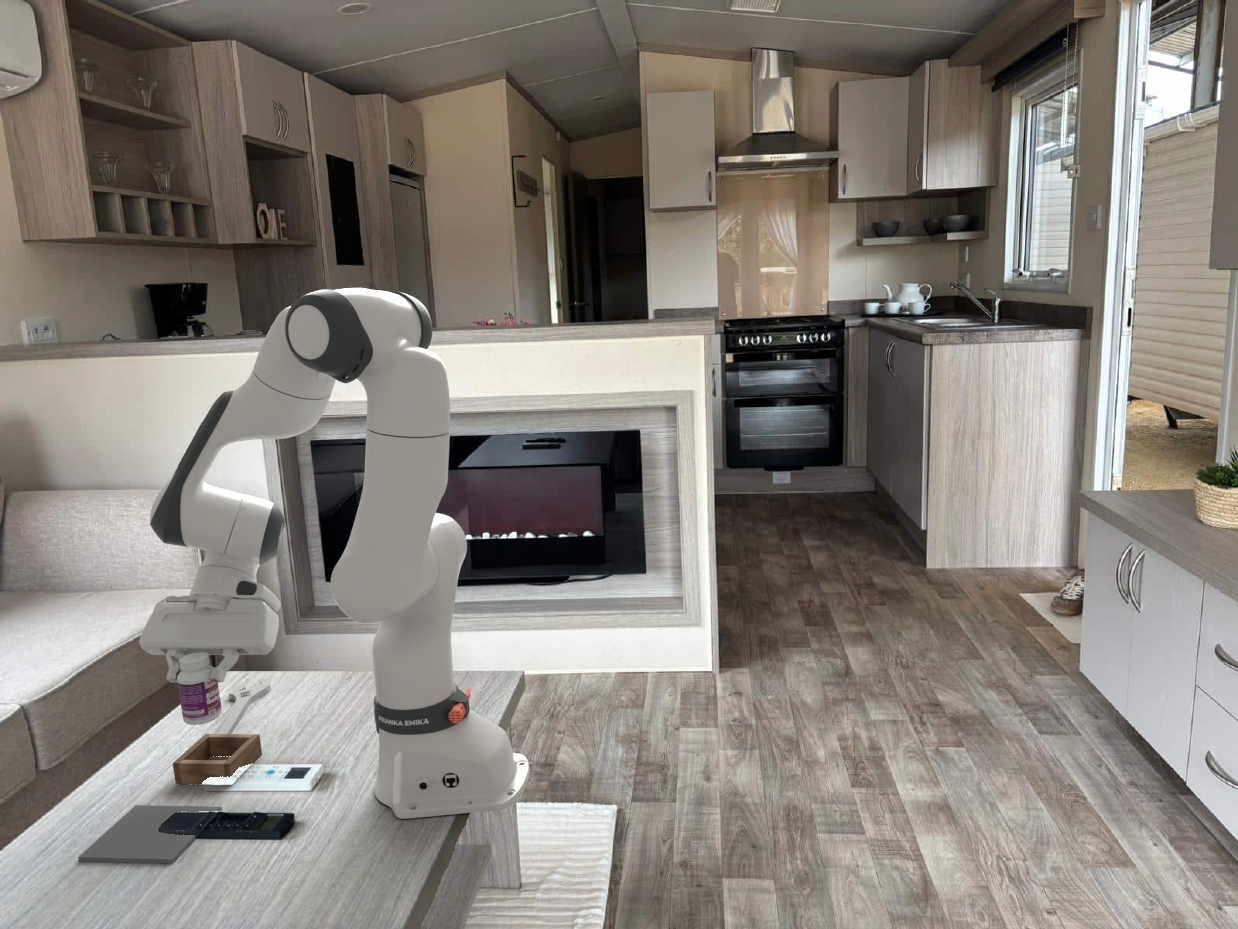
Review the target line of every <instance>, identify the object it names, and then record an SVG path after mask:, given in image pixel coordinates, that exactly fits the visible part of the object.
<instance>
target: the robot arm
mask: <svg viewBox="0 0 1238 929" xmlns="http://www.w3.org/2000/svg"><path fill="white" fill-rule="evenodd" d="M432 338H433V321H432V319H431V315H430V313H429V311H428V309H427V307H426V306H425V305H424V304H423V303H422V302H421V301H420V300H419V299H417V298H415V297H414V296H412V295H409V294H407V293H404V292H402V291H397V290H388V291H385V290H378V289H377V290H376V289H370V288H366V287H364V288H363V287H350V288H349V287H348V288H340V289H338V288H337V289H318V290H315V291H311V292H309V293H306V294H304V295H302V296H300V297H299V298H297V299H296V300H295V301H294V302H293V303H292V304H291V305H290V306H288V307H285V308H283V310H281V312H279V314H278V315H277V316H276V317H275V320H274V321H273V323H272V325H271V326H270V328H269V330H268V332H267V334H266V336H265V337H264V340H263V342H262V345H261V346H260V349H259V351H258V353H257V357H256V359H255V362H254V364H253V365H254V366H253V369H252V371H251V373H250V375H249V377H248V379H246V380H245V382H244V383H243V384H241V385H240V386H239V387H238V388H237V389H234V390H228V391H223V392H222V393H221V394H220V396H218V397H217V398H216V399H215V401H214V402H213V403H212V405H211V407H210V408H209V410H208V412H207V414H206V415H205V417H204V419H203V420H202V422H201V423H200V425H199V426H198V428H197V430H196V432H195V434H194V436H193V438H192V440H191V441H190V443H189V445H188V446H187V449H186V450H185V452H184V453H183V455H182V457H181V460H180V462H178V465H177V468H176V469H175V471H174V472H173V474H172V476H171V478H170V479H169V480H168V481H167V483H166V484H165V485H164V486H163V487H162V488H161V490H160V491H159V492H158V494H157V496H156V497H155V499H154V500H153V504H152V506H151V508H150V509H151V510H150V514H149V515H150V516H149V521H150V523H149V526H150V528H151V529H152V531H153V532H154V533H155V535H156V536H157V538H159V539H160V541H161V542H162V543H163V544H167V545H172V546H179V547H189V548H194V549H198V550H203V551H205V554H204V555H205V556H204V559H203V561H202V563H201V564H200V565H199V567H198V569H197V571H196V575H195V578H194V580H193V583H192V587H191V589H190V592H189V595H181V596H180V595H178V596H176V595H169V596H166V597H165V598H163V599H161V600H159V602H157V603H156V604H155V606H154V608H153V610H152V611H153V612H152V613H151V614H150V616H149V618H148V620H147V622H146V624H145V626H144V628H143V630H142V632H141V634H140V637H139V641H138V643H139V646H140V648H141V649H142V650H143V651H145V652H146V653H148V654H149V655H151V656H165V658H166V662H167V668H168V672H167V674H166V678H165V679H166V680H167V681H168V682H170V683H177V677H178V675H179V673H180V672H181V671H182V670H181V669H180V664H179V660H180V659H181V658H182V657H184V656H186V655H188V654H192V653H197V652H205V653H208V655H209V656H222V657H224V658H223V659H222V660H221V661H220V663H219V665H217V666H216V667H214V666H213V667H212V669H211V674H210V676H209V679H210V680H211V681H212V682H218V683H224V682H225V679H226V676H227V673H228V672H229V671H230V670H231V669H232V667H234V666H235V664H236V663H237V662H238V660H239V657H240V655H241V656H242V655H243V656H247V655H249V656H254V655H256V656H257V655H261V656H265V655H268V654H269V653H270V652H271V651H272V650H274V648H275V646H276V641H277V638H278V637H277V636H278V632H279V625H280V619H279V616H278V614H277V613H279V611H280V609H281V606H282V604H281V603H282V602H281V601H280V599H279V598H278V597H277V596H276V595H275V594H274V593H273V592H272V591H271V590H270V589H269V588H267V587H266V585H264V584H262V583H259V582H257V573H258V569H259V568H260V566H261V565H264V564H265V563H268V562H269V561H271V560H272V559H274V558H275V557H276V556H277V553H278V549H279V548H278V547H279V540H280V536H281V535H282V532H283V531H284V528H285V524H286V519H285V518H286V517H285V516H284V513H282V510H281V509H280V508H279V506H278V505H277V503H275V502H272V501H270V500H268V499H264V498H261V497H257V496H253V495H251V494H246V493H240V492H236V491H233V490H229V489H225V488H222V487H218V486H214V485H211V484H208V482H205V480H204V479H205V477H206V475H207V474H208V472H209V471H210V468H211V467H212V465H213V463H214V462H215V459H216V457H217V455H218V454H219V452H220V451H221V450H222V449H223V448H224V447H226V446H228V445H230V444H233V443H236V442H237V443H238V442H242V441H252V440H283V439H289V438H292V437H296V436H299V435H302V434H303V433H306V432H308V431H309V430H311V429H312V428H314V427H315V426H316V425H318V423H319V421H320V420H321V419H322V416H323V414H324V412H325V410H326V408H327V407H328V406H327V405H328V403H329V401H330V398H331V396H332V392H333V391H334V390H333V389H334V386H335V384H336V381H338V382H340V383H342V384H349V383H351V382H353V381H355V380H358V381H359V382H360V384H361V385H362V387H363V388H364V390H365V393H366V405H367V406H366V408H367V409H366V422H365V423H366V426H365V427H366V429H365V452H364V453H365V455H364V458H365V460H364V477H363V483H362V484H363V485H362V486H363V487H362V490H361V495H360V500H359V505H358V508H357V511H356V514H355V519H354V521H353V524H352V525H353V526H352V529H351V531H350V535H349V537H348V538H349V539H348V541H347V543H346V545H345V546H346V547H345V548H344V551H343V553H342V554H341V557H340V558H339V559H338V561H337V563H336V564H335V566H334V567H333V570H332V572H331V577H330V590H331V595H332V598H333V600H334V601H335V603H336V605H337V606H338V608H339V609H340V611H341V612H342V613H343V614H345V616H347V617H348V618H350V619H352V620H354V621H357V622H359V623H364V624H365V623H367V624H369V623H370V624H371V623H376V622H379V627H378V629H377V631H376V634H375V636H374V638H373V641H372V645H371V646H372V647H371V656H372V657H371V658H372V667H373V668H372V669H373V678H374V679H373V680H374V687H375V696H374V698H373V707H374V708H373V714H374V715H373V717H374V722H375V729H376V733H377V734H378V760H377V761H378V763H377V770H376V771H377V772H376V778H375V783H374V787H373V792H374V796H375V797H376V799H377V800H378V801H379V802H381V803H382V804H384V805H386V806H387V807H389V808H390V809H392V812H393V814H394V815H395V817H397V819H402V820H404V819H406V820H407V819H417V818H426V817H427V818H428V817H438V816H448V815H449V816H450V815H462V814H471V813H481V812H493V811H494V812H495V811H502V810H505V809H507V808H509V807H510V806H512V805H513V804H515V802H516V801H518V799H519V798H520V797H521V796H522V794H523V793H524V791H525V789H526V787H527V785H528V782H529V780H530V775H531V768H530V764H529V760H528V758H527V757H526V756H525V755H524V754H522V753H516V752H513V747H512V743H511V741H510V738H509V735H508V734H507V732H506V731H505V730H504V728H502V727H500V726H498V725H497V724H495V723H494V722H491V721H490V720H488V719H487V718H485V717H483V716H482V715H480V714H478V713H477V712H475V711H473V710H472V709H470V698H471V695H472V693H471V688H470V687H468V688H467V690H466V691H465V692H463V690H461V689H460V688H459V686H457V684H456V683H455V677H454V667H453V666H454V664H453V650H452V649H453V647H452V627H453V620H454V612H455V604H456V603H455V602H456V595H457V589H458V582H459V581H458V580H459V575H460V571H461V568H462V565H463V563H464V560H465V558H466V555H467V552H468V551H467V550H468V542H467V538H466V534H465V532H464V529H463V528H462V527H461V525H460V524H459V523H458V522H457V521H456V520H455V519H454V518H452V517H451V516H449V515H446V514H444V513H439V512H437V510H438V508H439V504H440V503H441V500H442V498H443V497H444V494H445V492H446V489H447V486H448V481H449V480H448V479H449V460H450V459H449V458H450V437H451V403H450V402H451V401H450V400H451V399H450V398H451V397H450V391H449V390H450V388H449V380H448V376H447V370H446V366H445V364H444V361H443V360H442V358H440V357H439V355H437V354H436V353H434V352H433V351H431V350H429V348H430V345H431V343H432Z"/></svg>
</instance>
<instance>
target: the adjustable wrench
mask: <svg viewBox="0 0 1238 929" xmlns="http://www.w3.org/2000/svg"><path fill="white" fill-rule="evenodd" d="M259 682H260V684H258V685H256V686H254V687H249V688H246V685H245V683H244V682H241V683H239V684H238V685H236V686H234V688H233V689H232V691H231V692H229V693H228V699H229V700H230V701H234V703H233V704H232V706H231V707H230V709H229V710H228V712H227V713H226V714H225V715H224V717H223V718H222V720H221V721H220V722H219V724H218V725H217V727H216V728H215V730H214V731H213V732H212V734H233V732H234V731H235V729H236V728H237V726H238V725H239V723H240V721H241V720H242V718H243V716H244V715H245V713H246V712H247V710H248V708H249V707H250V706H251V705H252V704H253V703H255V702H256V701H258V700H259V699H260V698H262V697H263V696H266V695H267V694H269V693H270V692H271V690H272V687H271V681H270V680H268V679H264V678H260V679H259Z"/></svg>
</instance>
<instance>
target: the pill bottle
mask: <svg viewBox="0 0 1238 929" xmlns="http://www.w3.org/2000/svg"><path fill="white" fill-rule="evenodd" d="M210 662H211V660H210V655H208V653H205V652H197V653H192V654H188V655H183V657H182V658H181V659H180V660H179V661H178V665H179V668H180V669H181V670H182V671H181V672H180V673H179V675H178V677H177V682H176V683H177V690H178V694H179V702H180V708H181V713H182V719H183V720H182V721H183V722H184V723H185V724H186V725H189V726H190V725H191V726H198V725H204V724H205V725H206V724H208V723H211V722H214V721H215V720H216V719H218V718H220V716H221V715H222V712H223V708H222V702H221V694H220V688H219V682H212V681H211V680H210V679H209V676H210V674H211V669H212V667H214V666H212V665H211V664H210Z"/></svg>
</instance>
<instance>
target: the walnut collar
mask: <svg viewBox="0 0 1238 929" xmlns="http://www.w3.org/2000/svg"><path fill="white" fill-rule="evenodd" d="M261 743H262V742H261V736H260V734H259V733H258V734H255V733H254V734H253V733H251V734H250V733H249V734H247V733H246V734H244V733H238V734H237V733H232V734H213V733H205V734H203V736H201V738H199V739H198V740H197V741H196V742H195V743H193V745H191V746H190V747H189V748H188V749H187V750H186V751H185V752H184V753H182V754H181V755H180V756H179V757H178V758H177V759H176V760H175V761H173V762H172V768H173V775H174V781H175V785H176V784H181V785H182V784H187V785H186V786H189V784H192V785H191V786H200V785H199V784H202V782H203V781H204V780H206V779H207V778H209V777H220V776H221V777H222V776H223V777H227V776H228V777H230V776H232V775H233V773H235V771H236V770H237V769H238V768H239V767H242V766H245V765H248V764H251V763H254V762H255V761H256V760H257V759H260V758H261V756H262V755H263V752H262V744H261ZM213 756H214V757H213ZM216 756H217V757H216ZM218 756H222V757H223V756H225V757H226V756H228V757H229V756H231V757H230V758H227V760H222V759H219V760H218V759H217V760H216V759H211V758H219V757H218ZM210 757H211V758H210ZM209 758H210V759H211V760H210V759H209ZM257 761H258V760H257ZM257 761H256V762H257ZM256 762H255V763H256ZM255 763H254V764H255ZM195 784H197V785H195ZM181 785H180V786H181ZM182 786H183V785H182Z"/></svg>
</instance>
